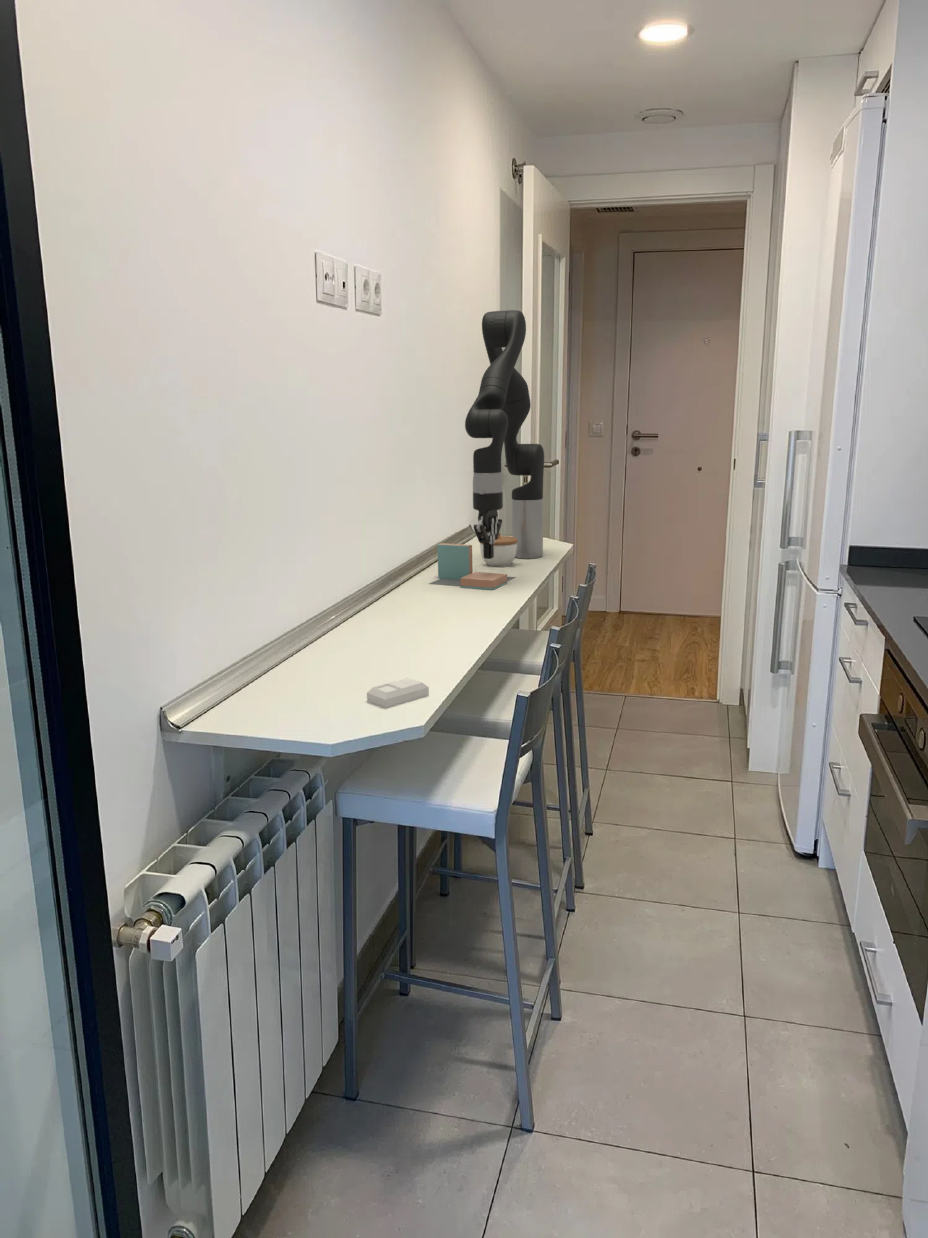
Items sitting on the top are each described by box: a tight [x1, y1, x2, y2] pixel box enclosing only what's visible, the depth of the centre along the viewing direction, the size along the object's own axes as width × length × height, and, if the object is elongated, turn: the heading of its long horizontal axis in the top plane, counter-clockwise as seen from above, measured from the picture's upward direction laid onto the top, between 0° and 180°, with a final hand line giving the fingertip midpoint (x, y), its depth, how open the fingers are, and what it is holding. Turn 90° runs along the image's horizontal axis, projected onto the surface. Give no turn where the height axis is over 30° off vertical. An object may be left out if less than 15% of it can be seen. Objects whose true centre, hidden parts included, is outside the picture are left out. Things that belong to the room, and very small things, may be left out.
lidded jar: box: [479, 532, 517, 568], centre depth 268 cm, size 11×11×9 cm
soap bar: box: [366, 677, 430, 709], centre depth 155 cm, size 5×9×3 cm, turn 132°
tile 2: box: [459, 571, 508, 591], centre depth 240 cm, size 2×9×9 cm
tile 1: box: [436, 542, 474, 580], centre depth 249 cm, size 2×9×9 cm, turn 64°
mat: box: [428, 576, 517, 587], centre depth 247 cm, size 16×18×1 cm
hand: (488, 558), depth 242 cm, fingers closed
